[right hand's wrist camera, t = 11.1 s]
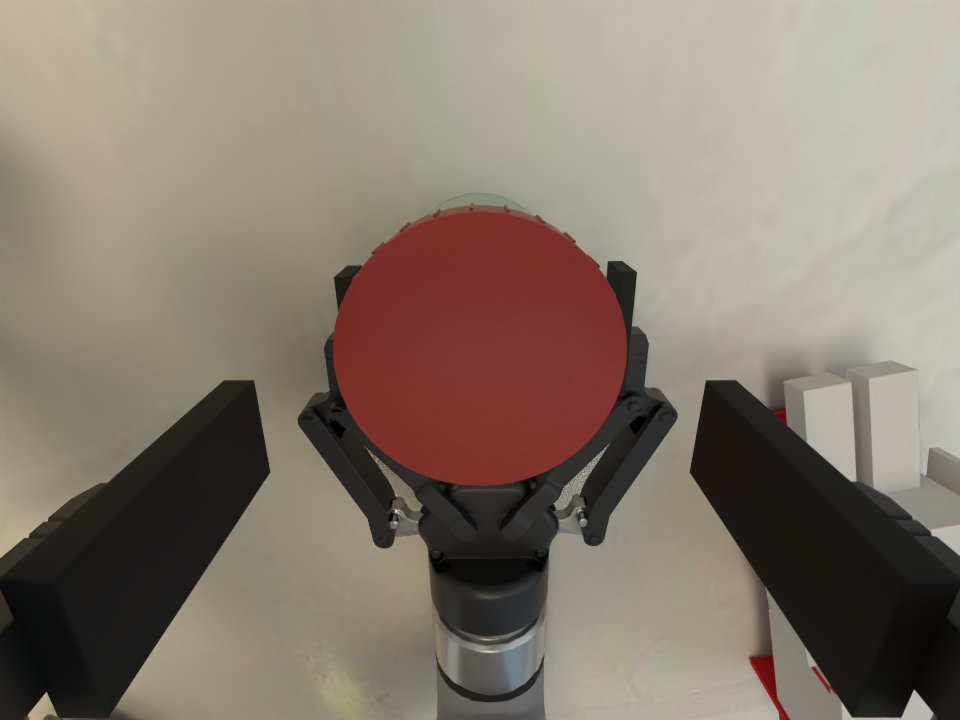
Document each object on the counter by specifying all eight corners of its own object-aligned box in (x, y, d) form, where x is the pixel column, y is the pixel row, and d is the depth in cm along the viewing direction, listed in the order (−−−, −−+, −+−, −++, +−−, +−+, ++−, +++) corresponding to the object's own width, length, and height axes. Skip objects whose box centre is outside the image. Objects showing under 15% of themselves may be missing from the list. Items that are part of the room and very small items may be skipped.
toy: (1054, 383, 25) (1033, 845, 31) (861, 330, 38) (876, 665, 44) (792, 430, 26) (827, 867, 32) (693, 363, 39) (733, 686, 45)
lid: (660, 365, 20) (683, 391, 18) (455, 493, 22) (453, 531, 20) (512, 140, 17) (517, 137, 15) (292, 313, 19) (267, 334, 17)
